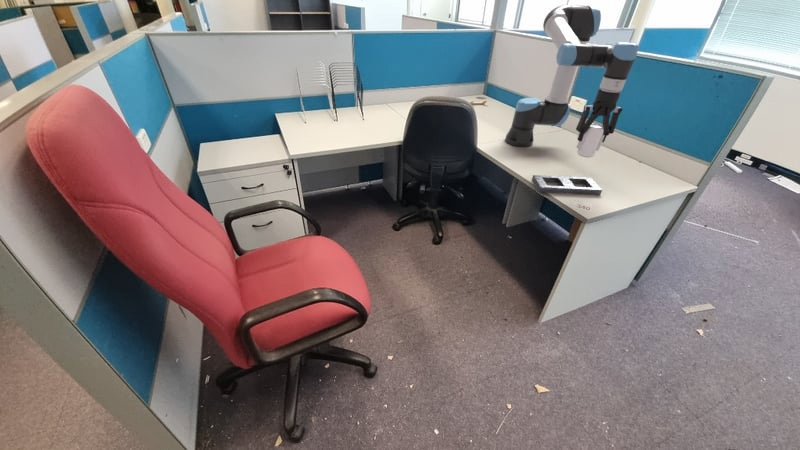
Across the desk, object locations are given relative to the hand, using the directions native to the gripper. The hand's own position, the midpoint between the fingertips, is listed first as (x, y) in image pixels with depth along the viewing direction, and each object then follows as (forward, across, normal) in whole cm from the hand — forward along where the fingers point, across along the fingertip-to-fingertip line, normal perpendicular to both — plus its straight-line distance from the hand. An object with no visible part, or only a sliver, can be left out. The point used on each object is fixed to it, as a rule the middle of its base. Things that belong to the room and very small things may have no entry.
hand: (587, 148), depth 135 cm
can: (+3, 0, 0) cm, 3 cm away
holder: (+18, -4, -1) cm, 18 cm away
